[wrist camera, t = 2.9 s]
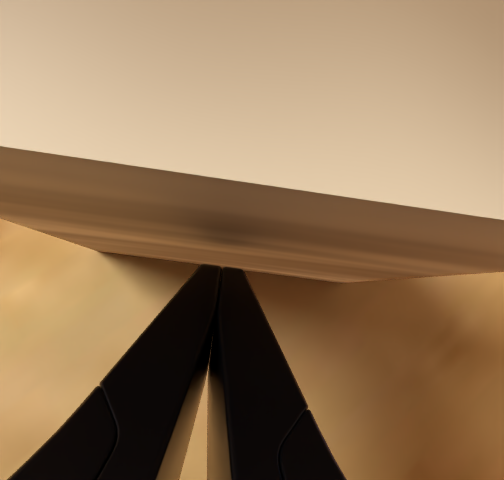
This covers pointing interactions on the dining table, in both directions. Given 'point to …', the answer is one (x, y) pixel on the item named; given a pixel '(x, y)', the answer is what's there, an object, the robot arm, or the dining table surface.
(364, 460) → the dining table surface
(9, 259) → the dining table surface
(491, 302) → the dining table surface
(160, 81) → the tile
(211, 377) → the robot arm
